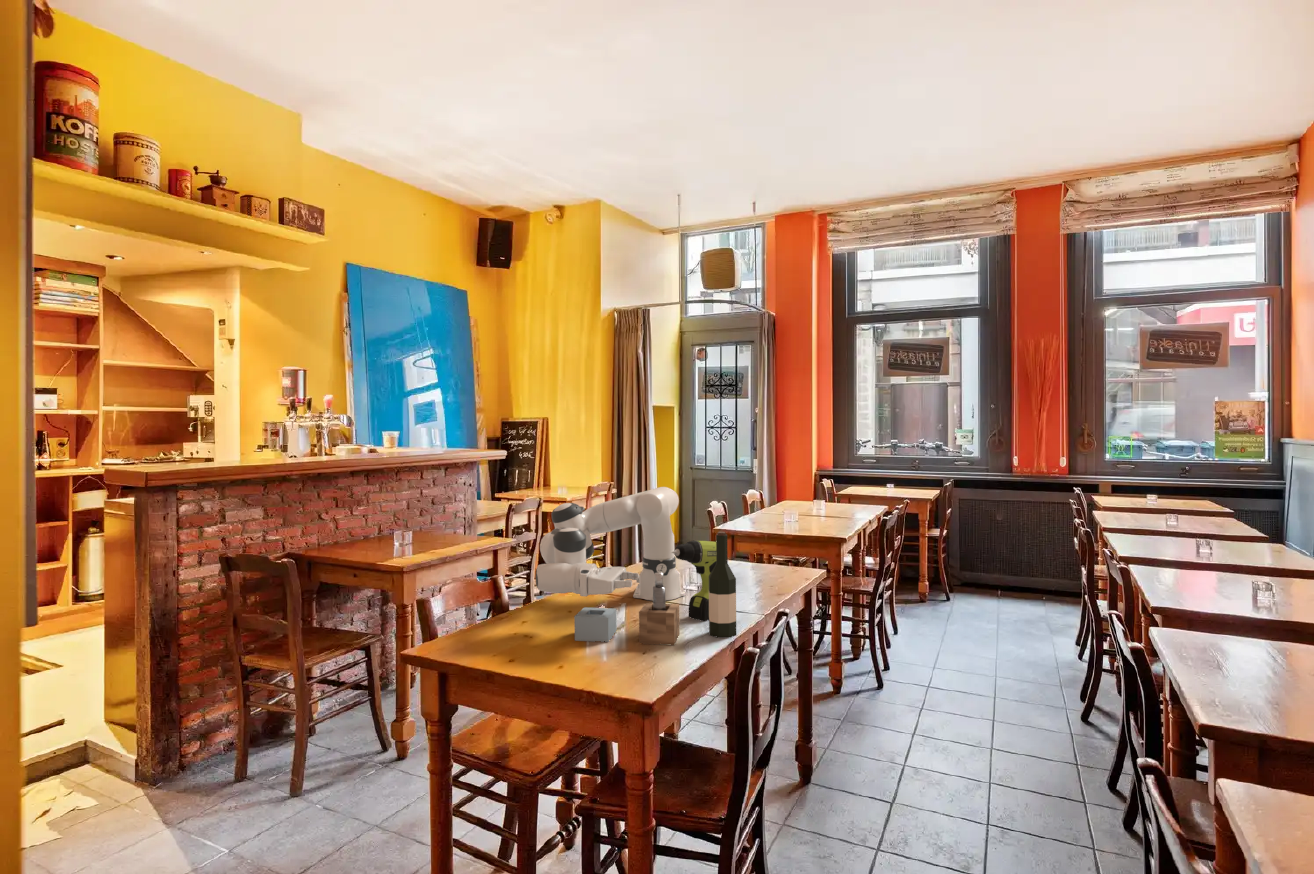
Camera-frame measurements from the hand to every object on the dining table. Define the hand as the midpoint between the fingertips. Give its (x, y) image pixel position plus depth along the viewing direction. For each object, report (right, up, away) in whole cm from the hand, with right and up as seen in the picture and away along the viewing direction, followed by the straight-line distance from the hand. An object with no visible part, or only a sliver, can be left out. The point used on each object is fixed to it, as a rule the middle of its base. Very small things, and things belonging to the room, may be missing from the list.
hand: (635, 580), depth 204 cm
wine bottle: (+26, -17, +4) cm, 31 cm away
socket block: (-11, -17, +3) cm, 21 cm away
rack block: (+7, -17, -1) cm, 18 cm away
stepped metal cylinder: (+7, -14, -1) cm, 16 cm away
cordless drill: (+19, -17, +20) cm, 33 cm away
